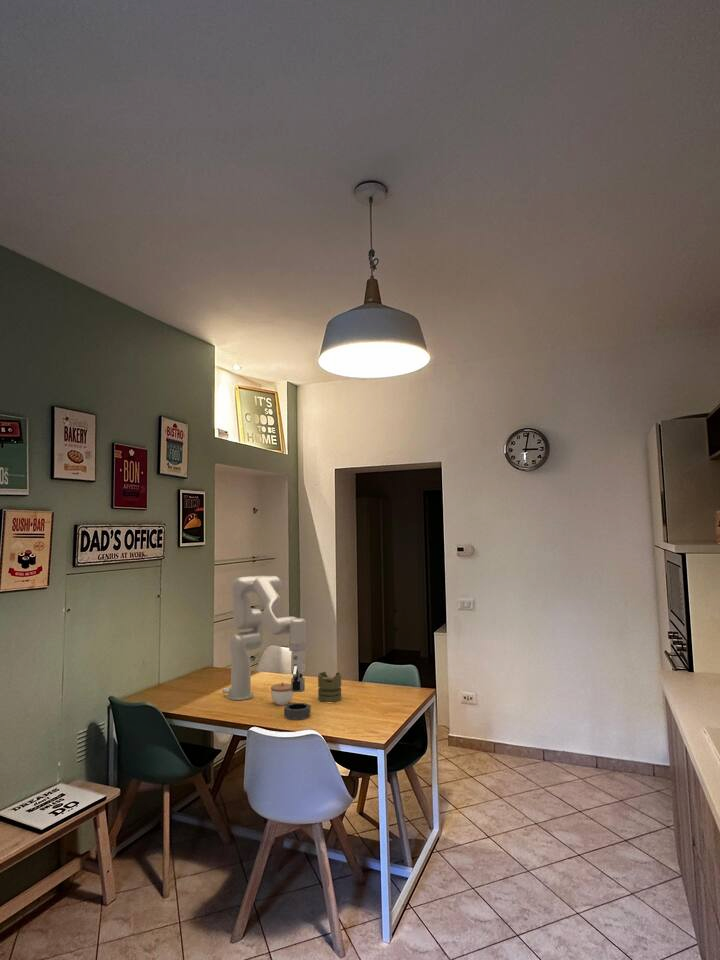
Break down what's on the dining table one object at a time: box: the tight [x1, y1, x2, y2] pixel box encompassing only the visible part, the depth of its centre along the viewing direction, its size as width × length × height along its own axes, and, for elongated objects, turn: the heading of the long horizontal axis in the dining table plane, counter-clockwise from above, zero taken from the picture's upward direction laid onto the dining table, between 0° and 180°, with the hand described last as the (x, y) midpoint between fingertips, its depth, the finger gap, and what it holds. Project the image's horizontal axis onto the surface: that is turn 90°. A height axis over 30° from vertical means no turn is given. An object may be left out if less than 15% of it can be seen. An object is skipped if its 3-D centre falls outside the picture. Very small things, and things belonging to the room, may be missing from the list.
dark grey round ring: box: [283, 702, 312, 721], centre depth 243 cm, size 11×11×4 cm
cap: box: [290, 677, 306, 693], centre depth 244 cm, size 6×6×5 cm
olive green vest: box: [317, 671, 342, 703], centre depth 268 cm, size 11×12×11 cm
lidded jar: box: [270, 682, 294, 706], centre depth 263 cm, size 11×11×9 cm
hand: (297, 688), depth 244 cm, fingers closed on cap, 5 cm apart
